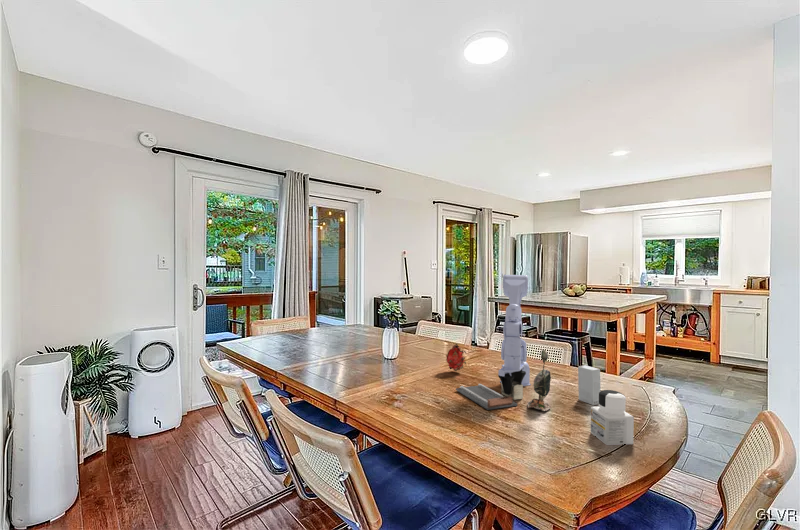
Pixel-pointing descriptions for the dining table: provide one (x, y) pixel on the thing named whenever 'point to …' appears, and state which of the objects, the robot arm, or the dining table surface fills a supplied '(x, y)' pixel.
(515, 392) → the block
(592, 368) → the skincare box
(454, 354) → the dragon fruit
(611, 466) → the dining table surface
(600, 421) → the container
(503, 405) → the rail guide
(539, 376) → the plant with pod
